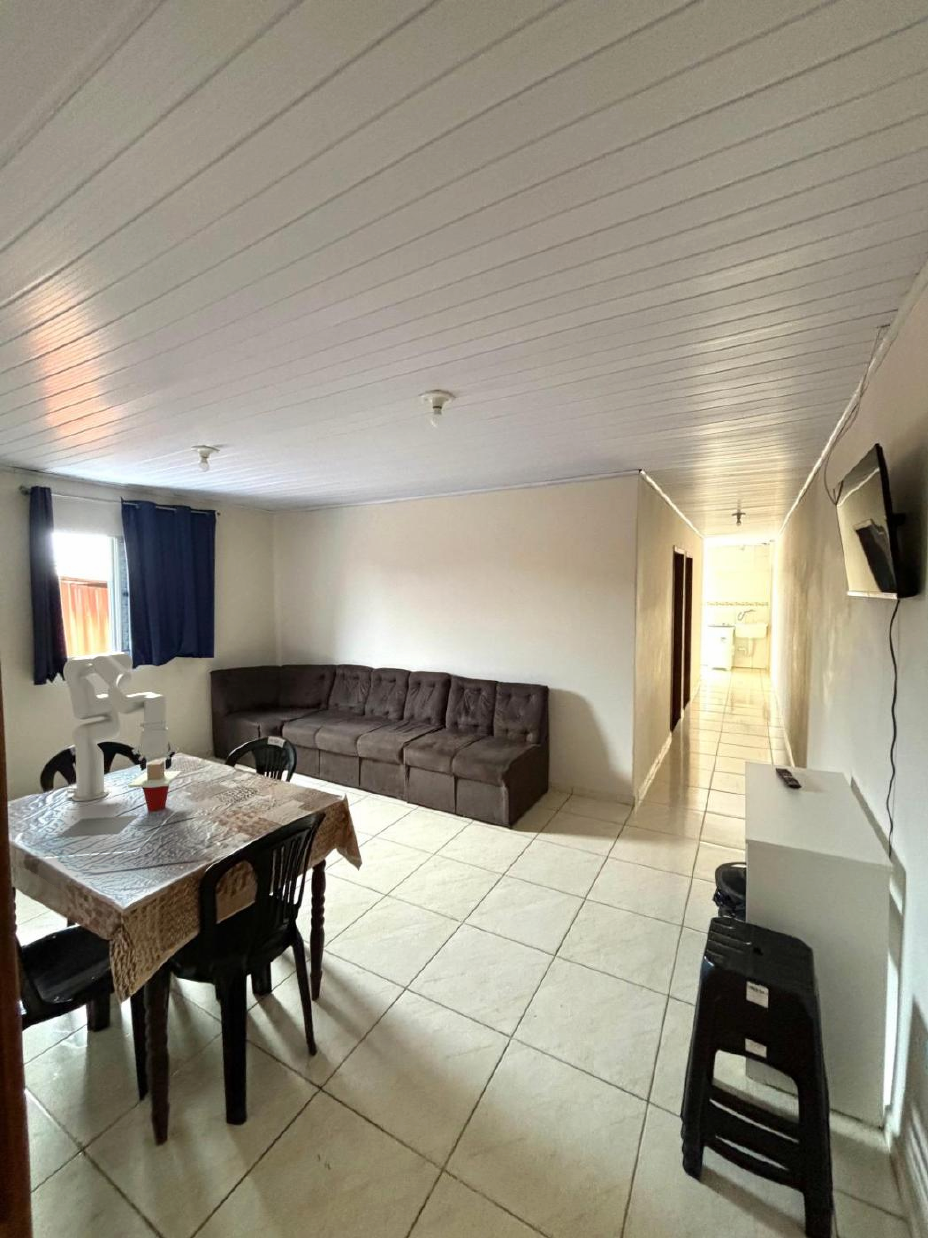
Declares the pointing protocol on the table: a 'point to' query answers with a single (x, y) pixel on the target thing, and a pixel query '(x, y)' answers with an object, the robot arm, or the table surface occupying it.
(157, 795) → the plastic cup
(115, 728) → the robot arm
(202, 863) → the table surface
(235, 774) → the table surface
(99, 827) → the mat
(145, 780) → the lid
